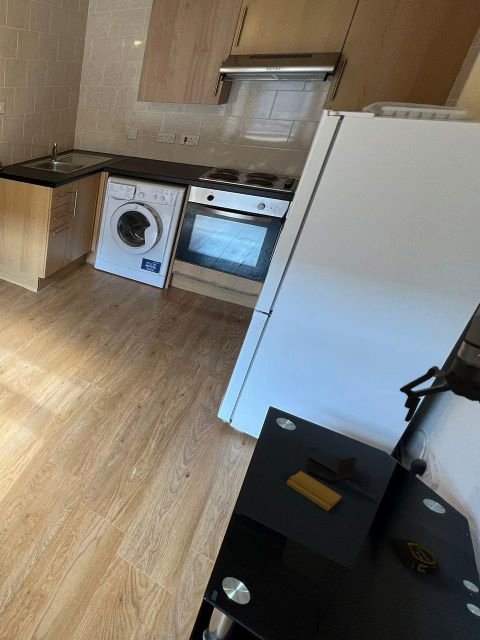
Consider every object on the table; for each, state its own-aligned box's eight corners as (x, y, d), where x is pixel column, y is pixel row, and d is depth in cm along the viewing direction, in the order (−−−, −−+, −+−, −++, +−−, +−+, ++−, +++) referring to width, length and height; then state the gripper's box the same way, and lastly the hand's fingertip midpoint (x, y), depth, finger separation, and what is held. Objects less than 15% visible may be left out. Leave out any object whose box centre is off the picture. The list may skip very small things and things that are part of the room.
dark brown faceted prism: (305, 447, 130) (338, 438, 124) (324, 465, 129) (358, 457, 122) (305, 473, 122) (340, 465, 115) (325, 493, 121) (362, 486, 114)
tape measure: (386, 544, 102) (391, 533, 100) (422, 554, 99) (427, 543, 98) (403, 571, 95) (409, 559, 94) (441, 582, 93) (447, 571, 92)
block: (340, 499, 114) (342, 494, 113) (327, 511, 110) (329, 506, 110) (299, 473, 122) (301, 468, 122) (286, 483, 119) (287, 478, 118)
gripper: (401, 342, 103) (374, 411, 110) (568, 398, 83) (522, 478, 89) (412, 336, 107) (385, 403, 113) (575, 388, 86) (530, 466, 93)
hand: (445, 436), depth 101 cm, fingers open, 13 cm apart
